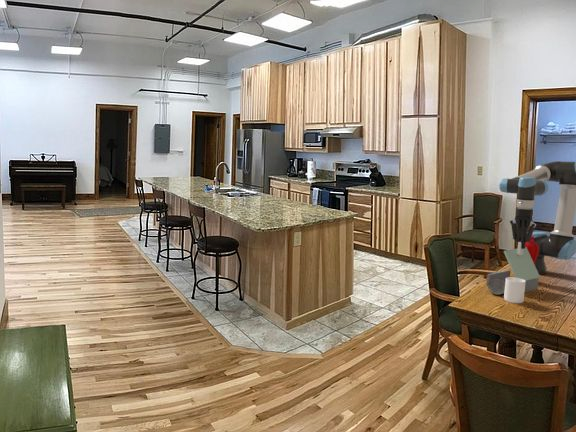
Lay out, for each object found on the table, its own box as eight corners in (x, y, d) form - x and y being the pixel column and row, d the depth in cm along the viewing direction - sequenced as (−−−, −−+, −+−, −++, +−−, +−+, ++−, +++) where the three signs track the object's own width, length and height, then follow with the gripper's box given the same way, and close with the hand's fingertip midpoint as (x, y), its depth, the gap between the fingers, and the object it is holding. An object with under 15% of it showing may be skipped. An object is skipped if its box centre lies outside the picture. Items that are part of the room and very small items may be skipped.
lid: (524, 247, 232) (526, 247, 231) (538, 277, 227) (540, 277, 226) (503, 251, 223) (505, 250, 222) (517, 282, 218) (518, 282, 217)
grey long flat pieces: (507, 280, 242) (508, 269, 241) (537, 289, 228) (538, 277, 227) (486, 285, 233) (487, 274, 232) (516, 294, 219) (517, 282, 218)
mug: (512, 283, 223) (514, 285, 213) (505, 297, 224) (506, 300, 214) (491, 273, 226) (492, 275, 217) (484, 287, 227) (485, 289, 218)
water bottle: (522, 277, 249) (526, 233, 245) (538, 282, 239) (543, 237, 235) (508, 278, 246) (513, 233, 242) (525, 284, 236) (529, 237, 232)
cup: (503, 301, 208) (505, 280, 206) (503, 294, 218) (505, 274, 217) (523, 304, 204) (525, 283, 203) (522, 297, 215) (525, 276, 213)
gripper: (507, 207, 225) (503, 252, 229) (533, 210, 214) (528, 258, 218) (516, 206, 229) (512, 251, 232) (541, 209, 218) (536, 256, 221)
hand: (519, 254), depth 225 cm, fingers closed
